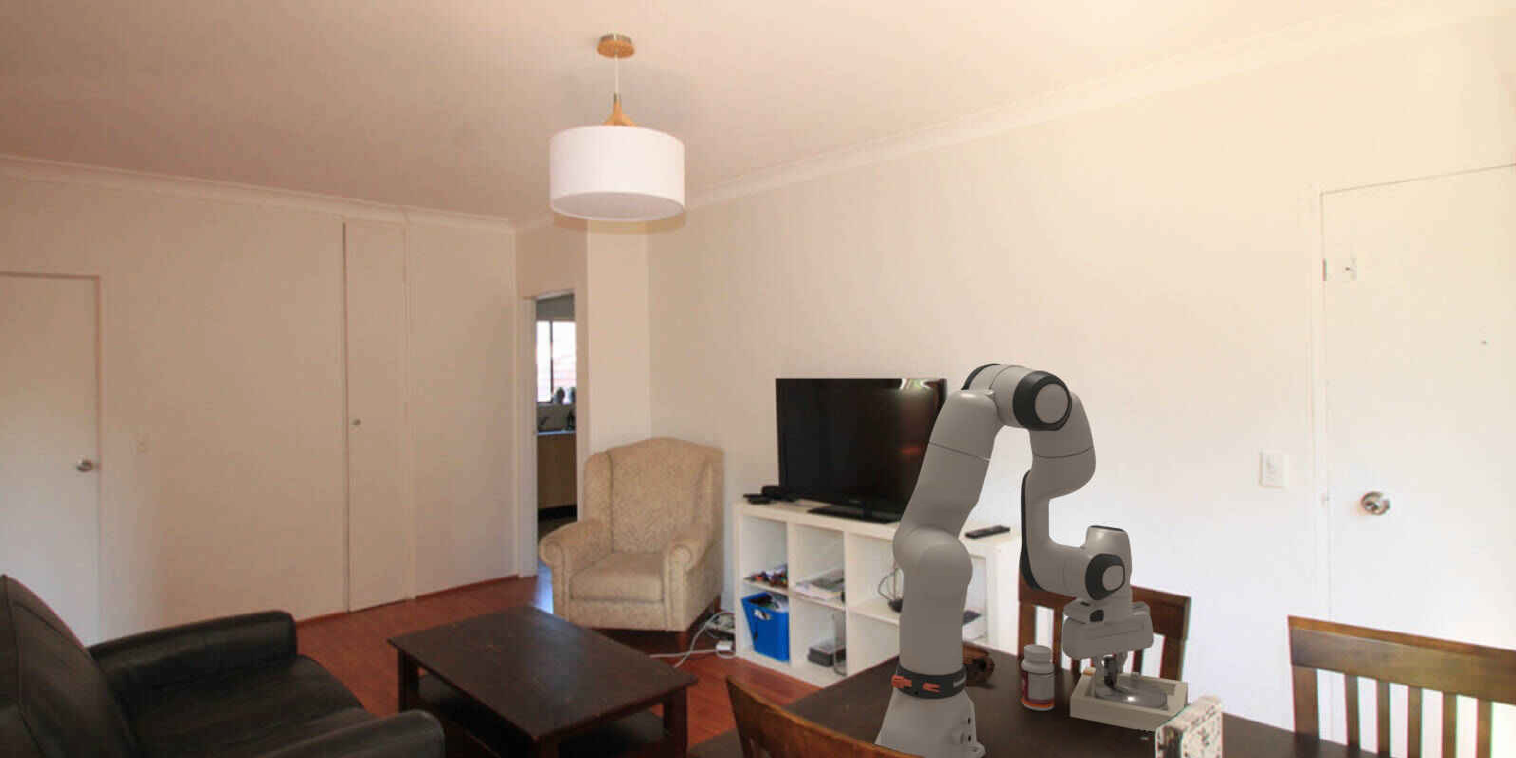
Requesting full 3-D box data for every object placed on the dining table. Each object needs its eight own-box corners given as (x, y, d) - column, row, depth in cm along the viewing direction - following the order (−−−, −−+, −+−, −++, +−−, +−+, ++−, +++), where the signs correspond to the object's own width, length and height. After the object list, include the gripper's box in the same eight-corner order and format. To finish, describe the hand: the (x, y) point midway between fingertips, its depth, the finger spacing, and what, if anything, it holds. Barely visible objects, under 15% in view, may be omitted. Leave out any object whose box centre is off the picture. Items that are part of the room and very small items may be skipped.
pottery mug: (936, 680, 177) (941, 642, 181) (967, 692, 181) (972, 654, 185) (978, 683, 168) (983, 642, 171) (1010, 695, 171) (1014, 655, 175)
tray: (1182, 737, 147) (1181, 715, 147) (1070, 716, 157) (1070, 695, 157) (1187, 700, 164) (1187, 680, 163) (1086, 683, 173) (1086, 663, 173)
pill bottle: (1021, 697, 166) (1021, 642, 166) (1054, 701, 164) (1053, 644, 164) (1021, 709, 160) (1020, 652, 160) (1054, 713, 158) (1054, 655, 158)
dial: (1182, 705, 158) (1181, 669, 158) (1138, 720, 151) (1138, 682, 151) (1122, 683, 169) (1122, 649, 169) (1080, 696, 163) (1079, 661, 163)
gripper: (1136, 596, 170) (1137, 662, 171) (1056, 607, 164) (1057, 676, 164) (1161, 604, 165) (1162, 672, 165) (1079, 616, 158) (1080, 688, 158)
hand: (1109, 674), depth 164 cm, fingers open, 2 cm apart
